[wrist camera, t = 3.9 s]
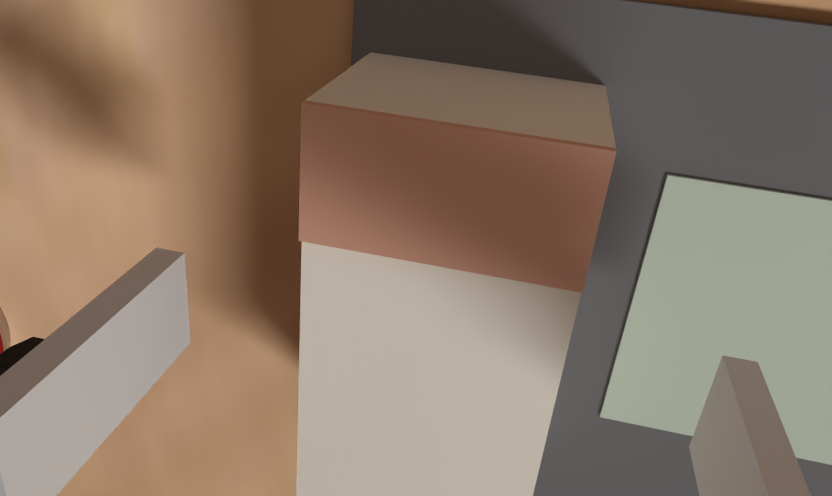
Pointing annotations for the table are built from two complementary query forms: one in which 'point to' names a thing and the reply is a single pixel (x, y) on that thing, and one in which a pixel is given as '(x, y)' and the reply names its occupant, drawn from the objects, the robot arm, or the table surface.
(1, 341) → the soda can
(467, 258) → the rubber eraser
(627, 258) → the mat
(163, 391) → the table surface
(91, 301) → the robot arm
